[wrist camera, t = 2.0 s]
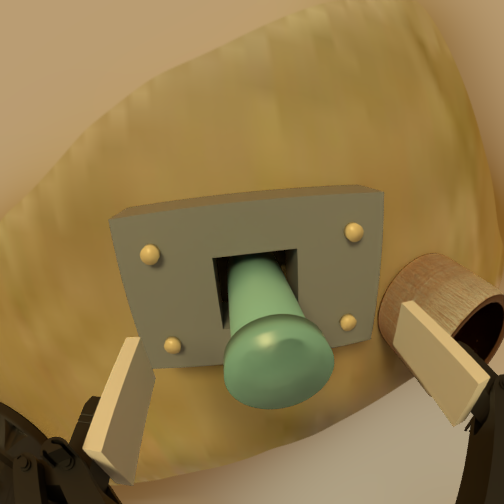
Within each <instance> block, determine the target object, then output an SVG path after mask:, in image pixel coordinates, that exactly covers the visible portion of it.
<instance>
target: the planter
mask: <svg viewBox="0 0 504 504" xmlns="http://www.w3.org/2000/svg"><path fill="white" fill-rule="evenodd" d="M412 300H413V301H414V302H415V303H416V304H417V305H418V306H419V307H420V308H422V309H423V310H424V311H425V312H426V313H427V314H428V315H429V316H430V317H431V318H432V319H433V320H434V321H435V322H436V323H438V324H439V325H440V326H441V327H442V328H443V329H444V330H445V331H446V332H447V333H448V334H449V335H450V336H451V337H452V338H453V339H454V340H455V341H456V342H458V341H461V342H463V343H465V344H467V345H468V346H469V347H470V348H471V349H472V350H473V351H474V353H476V354H477V355H478V356H479V358H481V359H482V360H483V361H484V362H485V363H486V364H488V363H489V362H490V361H491V359H492V358H493V356H494V355H495V353H496V351H497V350H498V348H499V346H500V344H501V343H502V340H503V338H504V293H503V292H501V291H500V290H499V289H497V288H496V287H494V286H493V285H491V284H490V283H488V282H486V281H485V280H483V279H482V278H480V277H479V276H477V275H476V274H474V273H473V272H471V271H469V270H468V269H466V268H465V267H463V266H462V265H460V264H458V263H457V262H455V261H453V260H452V259H450V258H448V257H447V256H444V255H441V254H437V253H430V254H426V255H423V256H420V257H418V258H416V259H414V260H413V261H411V262H410V263H409V264H407V265H406V266H405V267H404V268H403V269H402V270H401V271H400V272H399V273H398V274H397V275H396V277H395V278H394V279H393V281H392V282H391V284H390V285H389V287H388V289H387V291H386V292H385V295H384V297H383V299H382V302H381V305H380V310H379V316H378V323H379V329H380V332H381V334H382V336H383V338H384V339H385V341H386V342H387V343H388V345H389V346H390V347H391V348H392V349H393V351H394V352H395V353H396V354H397V355H398V357H399V358H400V359H401V360H402V362H403V363H404V364H405V365H406V366H407V368H408V369H409V370H410V371H411V373H412V374H413V375H414V377H415V378H416V379H417V380H418V382H419V383H420V384H421V386H422V387H423V388H424V389H425V391H426V392H427V393H428V395H429V396H431V395H430V393H429V392H428V390H427V389H426V388H425V386H424V385H423V384H422V382H421V381H420V380H419V378H418V377H417V375H416V374H415V373H414V371H413V370H412V369H411V367H410V366H409V365H408V364H407V362H406V361H405V360H404V358H403V357H402V356H401V354H400V353H399V352H398V350H397V349H396V348H395V347H394V345H393V341H394V337H395V332H396V328H397V323H398V318H399V313H400V308H401V303H403V302H408V301H412ZM431 397H432V396H431Z"/></svg>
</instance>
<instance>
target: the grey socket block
mask: <svg viewBox="0 0 504 504" xmlns="http://www.w3.org/2000/svg"><path fill="white" fill-rule="evenodd" d="M383 216H384V192H382V191H379V190H375V189H372V188H368V187H365V186H361V185H341V186H321V187H305V188H290V189H277V190H265V191H254V192H244V193H234V194H225V195H216V196H207V197H199V198H191V199H183V200H176V201H169V202H162V203H155V204H148V205H142V206H136V207H129V208H126V209H125V210H123V211H122V212H120V213H118V214H117V215H115V216H113V217H112V218H110V219H109V225H110V230H111V235H112V240H113V245H114V249H115V253H116V258H117V262H118V266H119V270H120V274H121V278H122V281H123V285H124V289H125V292H126V296H127V299H128V303H129V306H130V310H131V313H132V316H133V319H134V322H135V325H136V328H137V331H138V334H139V337H141V340H142V343H143V346H144V348H145V351H146V354H147V357H148V359H149V362H150V365H151V367H152V369H157V368H181V367H197V366H210V365H221V364H224V361H223V358H224V351H225V348H226V345H227V343H228V342H229V340H230V338H231V332H230V317H229V301H228V302H222V296H221V289H220V282H219V275H218V268H217V260H216V258H217V257H225V256H234V255H243V254H252V253H261V252H270V251H279V250H285V255H286V279H287V282H288V284H289V286H290V288H291V290H292V292H293V294H294V296H295V298H296V300H297V302H298V304H299V306H300V308H301V310H302V312H303V314H304V316H305V318H306V319H308V320H310V321H312V322H313V323H314V324H316V325H317V326H318V327H319V328H320V330H321V331H322V333H323V335H324V337H325V338H326V340H327V342H328V344H329V346H330V348H334V347H339V346H344V345H348V344H353V343H357V342H361V341H366V340H370V339H371V335H372V329H373V322H374V316H375V309H376V302H377V294H378V285H379V276H380V265H381V253H382V238H383Z"/></svg>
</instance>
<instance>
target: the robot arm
mask: <svg viewBox="0 0 504 504" xmlns="http://www.w3.org/2000/svg"><path fill="white" fill-rule="evenodd" d="M393 345H394V347H395V348H396V349H397V350H398V352H399V353H400V354H401V356H402V357H403V358H404V360H405V361H406V362H407V364H408V365H409V366H410V367H411V369H412V370H413V371H414V373H415V374H416V375H417V377H418V378H419V380H420V381H421V382H422V384H423V385H424V386H425V388H426V389H427V390H428V392H429V393H430V395H431V396H432V397H433V399H434V400H435V401H436V403H437V404H438V406H439V407H440V409H441V410H442V411H443V413H444V414H445V415H446V417H447V418H448V420H449V421H450V423H451V424H452V426H453V427H454V426H456V425H458V424H459V423H461V422H463V421H464V420H465V419H466V418H467V416H468V415H469V413H470V412H471V413H472V414H473V415H474V416H473V417H472V419H471V420H470V422H469V423H468V425H467V426H466V427H465V430H464V431H467V429H468V428H469V427H470V430H469V432H470V435H469V443H468V449H467V456H466V461H465V466H464V471H463V476H462V480H461V484H460V488H459V492H458V496H457V500H456V503H455V504H504V374H503V375H499V376H498V375H497V374H496V373H495V372H494V371H493V370H492V369H491V368H490V367H489V366H488V365H487V364H486V363H485V362H484V361H483V360H482V359H481V358H479V356H478V355H477V354H476V353H474V351H473V350H472V349H471V348H470V347H469V346H468V345H467V344H465V343H463V342H461V341H458V342H456V341H455V340H454V339H453V338H452V337H451V336H450V335H449V334H448V333H447V332H446V331H445V330H444V329H443V328H442V327H441V326H440V325H439V324H438V323H436V322H435V321H434V320H433V319H432V318H431V317H430V316H429V315H428V314H427V313H426V312H425V311H424V310H423V309H422V308H420V307H419V306H418V305H417V304H416V303H415V302H414V301H413V300H412V301H408V302H403V303H401V308H400V313H399V318H398V323H397V328H396V332H395V337H394V341H393ZM155 379H156V378H155V375H154V372H153V370H152V367H151V365H150V362H149V359H148V357H147V354H146V351H145V348H144V346H143V343H142V340H141V337H128V338H126V340H125V342H124V344H123V346H122V348H121V351H120V353H119V355H118V358H117V360H116V362H115V364H114V367H113V369H112V371H111V374H110V376H109V379H108V381H107V384H106V386H105V388H104V391H103V393H102V396H101V397H96V396H92V397H91V398H90V399H89V400H88V401H87V402H86V403H85V405H84V407H83V410H82V412H81V415H80V417H79V419H78V422H77V424H76V427H75V429H74V432H73V435H72V437H71V440H70V442H69V444H68V443H67V441H66V440H64V439H63V438H61V437H52V438H49V439H47V438H46V437H45V436H44V435H43V434H42V433H41V432H40V431H39V430H38V429H37V428H36V427H35V426H33V425H32V424H31V423H30V422H29V421H27V420H26V419H25V418H24V417H22V416H21V415H20V414H18V413H17V412H15V411H14V410H12V409H11V408H9V407H8V406H6V405H4V404H2V403H0V504H122V503H121V501H120V500H119V499H118V497H117V496H116V494H115V492H114V491H113V489H112V488H111V486H110V485H109V484H108V483H109V479H110V478H111V479H112V480H113V481H114V482H115V483H117V484H123V485H130V486H133V484H134V479H135V473H136V467H137V462H138V456H139V451H140V446H141V441H142V436H143V431H144V426H145V422H146V417H147V413H148V408H149V404H150V399H151V395H152V391H153V387H154V383H155ZM470 425H471V426H470Z"/></svg>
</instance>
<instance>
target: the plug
mask: <svg viewBox="0 0 504 504" xmlns="http://www.w3.org/2000/svg"><path fill="white" fill-rule="evenodd" d="M227 281H228V300H229V317H230V332H231V338H230V340H229V342H228V343H227V345H226V348H225V351H224V358H223V361H224V381H225V385H226V387H227V389H228V391H229V392H230V394H231V395H232V396H233V397H234V398H235V399H237V400H238V401H240V402H241V403H243V404H245V405H248V406H251V407H255V408H260V409H280V408H285V407H290V406H293V405H296V404H298V403H301V402H303V401H305V400H307V399H309V398H310V397H312V396H313V395H315V394H316V393H317V392H318V391H319V390H321V389H322V387H323V386H324V385H325V384H326V383H327V381H328V380H329V378H330V376H331V374H332V371H333V368H334V355H333V352H332V350H331V348H330V346H329V344H328V342H327V340H326V338H325V337H324V335H323V333H322V331H321V330H320V328H319V327H318V326H317V325H316V324H314V323H313V322H312V321H310V320H308V319H306V318H305V316H304V314H303V312H302V310H301V308H300V306H299V304H298V302H297V300H296V298H295V296H294V294H293V292H292V290H291V288H290V286H289V284H288V282H287V280H286V278H285V276H284V274H283V272H282V270H281V268H280V266H279V264H278V262H277V260H276V258H275V256H274V254H273V253H272V252H271V251H270V252H261V253H252V254H243V255H234V256H230V258H229V260H228V263H227Z"/></svg>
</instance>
